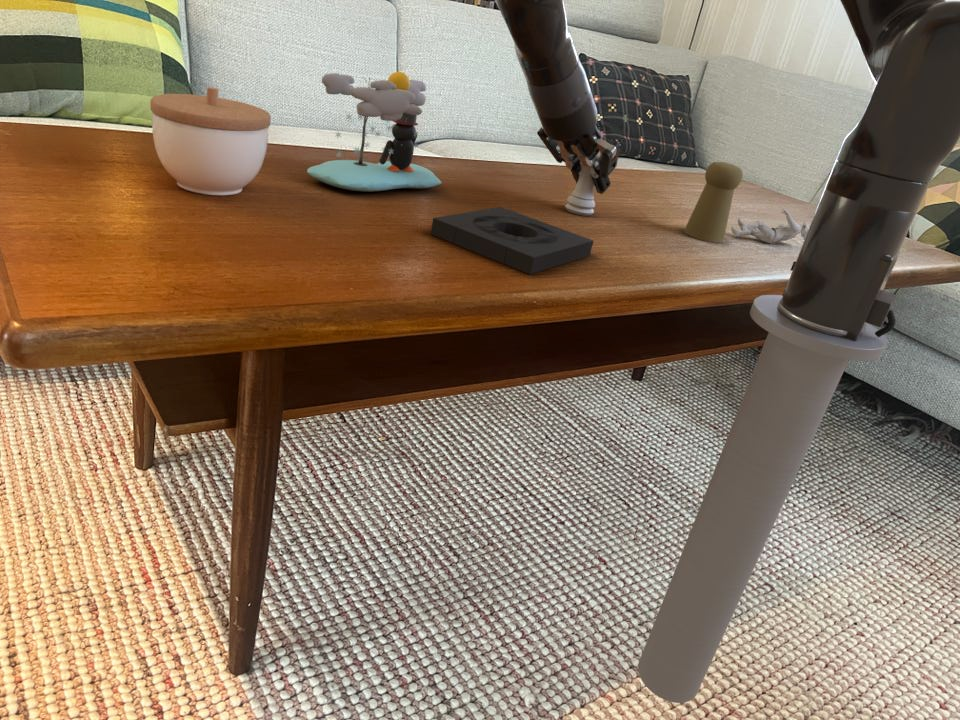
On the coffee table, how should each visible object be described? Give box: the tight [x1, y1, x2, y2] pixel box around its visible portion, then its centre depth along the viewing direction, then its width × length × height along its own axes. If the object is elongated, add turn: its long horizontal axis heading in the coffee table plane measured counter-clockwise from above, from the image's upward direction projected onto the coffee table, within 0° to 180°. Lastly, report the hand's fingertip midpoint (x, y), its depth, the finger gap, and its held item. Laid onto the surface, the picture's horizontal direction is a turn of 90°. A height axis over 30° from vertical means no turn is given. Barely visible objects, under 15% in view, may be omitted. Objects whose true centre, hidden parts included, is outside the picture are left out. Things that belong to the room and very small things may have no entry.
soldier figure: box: [730, 207, 810, 244], centre depth 114 cm, size 8×5×12 cm
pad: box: [430, 206, 594, 275], centre depth 86 cm, size 14×14×2 cm
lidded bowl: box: [149, 86, 272, 196], centre depth 83 cm, size 13×13×11 cm
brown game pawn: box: [683, 161, 744, 244], centre depth 108 cm, size 6×6×11 cm
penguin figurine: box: [306, 71, 442, 193], centre depth 97 cm, size 20×11×15 cm, turn 133°
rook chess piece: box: [564, 157, 598, 217], centre depth 107 cm, size 4×4×8 cm
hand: (593, 185), depth 109 cm, fingers closed on rook chess piece, 3 cm apart
